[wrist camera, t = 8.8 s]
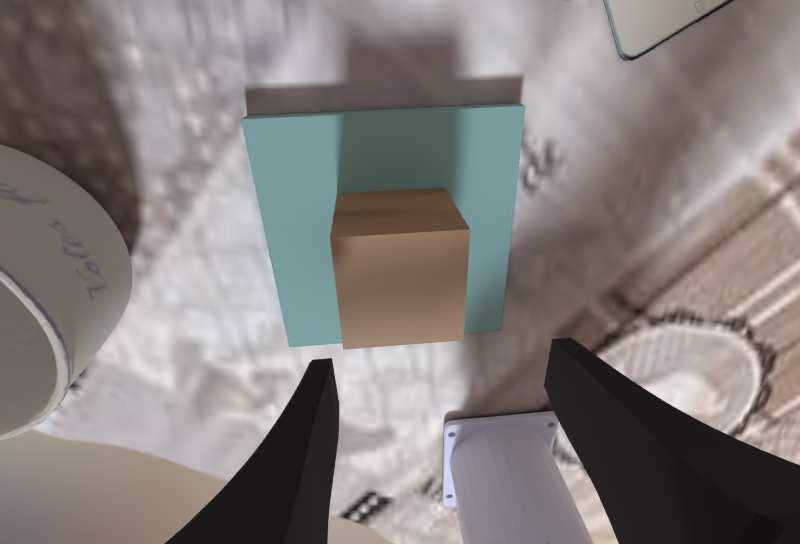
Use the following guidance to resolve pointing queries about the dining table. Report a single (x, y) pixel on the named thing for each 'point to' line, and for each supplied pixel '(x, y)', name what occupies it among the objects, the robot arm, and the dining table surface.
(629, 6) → the smartphone
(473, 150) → the teal square plate
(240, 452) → the dining table surface
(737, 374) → the dining table surface
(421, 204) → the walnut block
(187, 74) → the dining table surface
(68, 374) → the teacup
